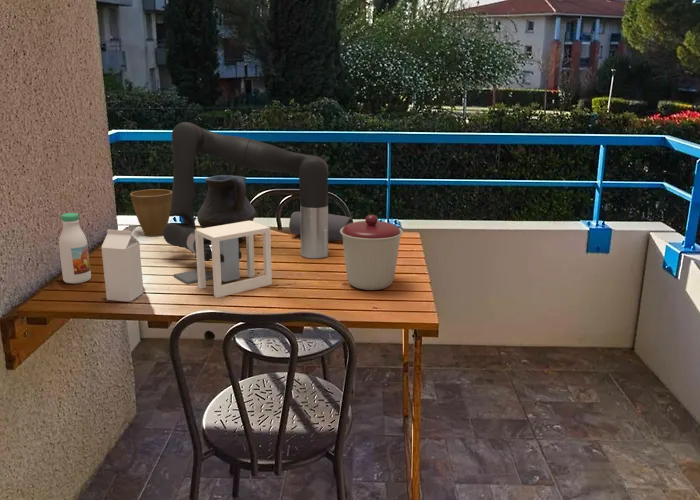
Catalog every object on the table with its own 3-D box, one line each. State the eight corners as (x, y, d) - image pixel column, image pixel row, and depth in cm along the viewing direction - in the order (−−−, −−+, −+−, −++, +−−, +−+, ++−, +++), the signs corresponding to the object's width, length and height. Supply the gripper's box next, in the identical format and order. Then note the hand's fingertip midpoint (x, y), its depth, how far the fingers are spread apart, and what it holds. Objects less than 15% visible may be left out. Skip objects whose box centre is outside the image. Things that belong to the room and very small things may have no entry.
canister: (404, 277, 193) (407, 210, 187) (396, 297, 176) (399, 224, 170) (346, 273, 196) (347, 206, 191) (333, 292, 179) (333, 220, 174)
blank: (216, 277, 187) (214, 235, 183) (231, 274, 190) (229, 232, 186) (224, 281, 183) (222, 238, 180) (239, 278, 186) (238, 235, 183)
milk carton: (130, 302, 170) (124, 234, 165) (106, 300, 172) (99, 232, 166) (143, 293, 177) (138, 227, 172) (120, 291, 178) (114, 226, 173)
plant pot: (181, 230, 245) (178, 189, 241) (164, 240, 231) (160, 197, 227) (145, 228, 248) (142, 187, 243) (126, 237, 234) (122, 195, 229)
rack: (198, 287, 182) (194, 229, 178) (251, 275, 194) (250, 220, 189) (216, 297, 174) (213, 237, 170) (271, 284, 186) (270, 227, 181)
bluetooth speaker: (288, 239, 235) (288, 212, 232) (300, 233, 243) (299, 208, 240) (344, 246, 226) (344, 219, 223) (354, 240, 234) (354, 213, 231)
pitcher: (236, 231, 244) (234, 167, 238) (269, 242, 229) (267, 174, 222) (188, 240, 231) (184, 172, 224) (220, 253, 216) (216, 180, 209)
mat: (173, 276, 191) (173, 274, 191) (200, 271, 197) (200, 268, 197) (187, 284, 185) (187, 281, 184) (214, 278, 190) (214, 275, 190)
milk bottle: (64, 285, 183) (56, 218, 177) (62, 277, 189) (54, 212, 184) (92, 281, 186) (85, 215, 181) (89, 274, 193) (82, 210, 187)
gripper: (181, 236, 190) (208, 249, 177) (223, 229, 199) (252, 240, 186) (183, 260, 192) (210, 274, 179) (224, 252, 201) (253, 264, 188)
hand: (231, 257), depth 183 cm, fingers closed on blank, 5 cm apart
